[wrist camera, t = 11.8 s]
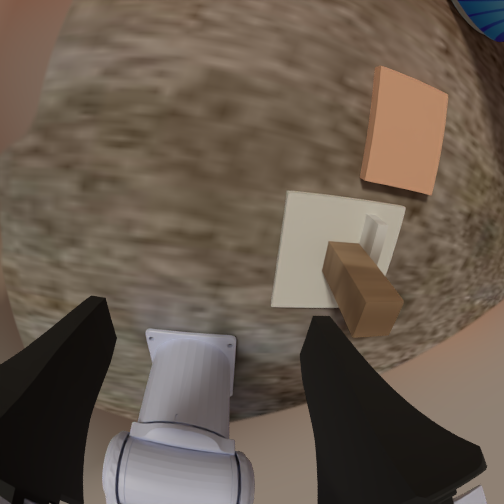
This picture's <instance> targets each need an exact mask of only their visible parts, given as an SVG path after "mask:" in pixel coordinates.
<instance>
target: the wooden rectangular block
mask: <svg viewBox="0 0 504 504" xmlns="http://www.w3.org/2000/svg"><path fill="white" fill-rule="evenodd" d="M387 230H388V225H387V224H386V223H385V222H384V221H383V220H381V219H380V218H379V217H378V216H377V215H373V214H366V217H365V221H364V225H363V229H362V233H361V237H360V241H359V243H347V242H334V241H328V246H327V251H326V255H325V259H324V264H323V268H322V272H323V274H324V276H325V278H326V281H327V283H328V285H329V287H330V289H331V291H332V293H333V296H334V298H335V300H336V302H337V304H338V306H339V309H340V311H341V313H342V315H343V318H344V320H345V322H346V324H347V327H348V329H349V331H350V334H351V336H352V338H355V337H371V336H385V335H389V333H390V331H391V329H392V327H393V325H394V323H395V321H396V319H397V316H398V314H399V312H400V310H401V308H402V305H403V303H404V301H403V299H402V298H401V297H400V295H399V294H398V293H397V291H396V290H395V289H394V287H393V286H392V285H391V283H390V282H389V281H388V279H387V278H386V277H385V275H384V274H383V273H382V272H381V270H380V269H379V268H378V266H377V264H378V261H379V257H380V254H381V251H382V248H383V244H384V241H385V237H386V234H387Z"/></svg>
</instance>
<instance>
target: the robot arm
mask: <svg viewBox="0 0 504 504" xmlns="http://www.w3.org/2000/svg"><path fill="white" fill-rule="evenodd" d="M151 337H153V338H151ZM146 338H147V343H148V347H149V351H150V355H151V359H152V363H153V364H152V368H151V371H150V375H149V379H148V382H147V386H146V390H145V394H144V398H143V402H142V406H141V410H140V414H139V419H138V423H137V422H132V427H131V430H130V432H127V431H121V432H120V433H119V434H117V435H115V436H114V437H113V438H112V439H111V442H110V443H109V446H108V449H107V452H106V455H105V460H104V466H103V476H102V477H103V478H102V479H103V480H102V481H103V489H104V492H105V494H106V504H253V501H254V491H255V483H254V472H253V468H252V464H251V462H250V461H249V460H248V458H247V457H246V456H245V454H244V453H242V452H240V451H235V440H232V439H229V405H230V396H232V395H233V381H234V366H235V352H236V337H235V336H233V335H220V334H205V333H192V332H180V331H170V330H160V329H152V328H149V329H147V330H146ZM116 339H117V337H116V334H115V330H114V327H113V324H112V320H111V317H110V313H109V309H108V305H107V302H106V298H103V297H97V296H90V297H89V298H87V299H86V300H85V301H83V302H82V303H81V304H80V305H78V306H77V307H76V308H75V309H73V310H72V311H71V312H70V313H68V314H67V315H66V316H65V317H64V318H62V319H61V320H60V321H59V322H58V323H56V324H55V325H54V326H53V327H52V328H50V329H49V330H48V331H47V332H45V333H44V334H43V335H41V336H40V337H39V338H38V339H36V340H35V341H34V342H32V343H31V344H30V345H29V346H27V347H26V348H25V349H23V350H22V351H20V352H19V353H18V354H16V355H15V356H13V357H11V358H10V359H8V360H7V361H5V362H4V363H2V364H0V504H49V503H51V504H59V502H60V500H61V501H64V502H66V503H69V504H84V500H83V465H84V453H85V446H86V439H87V433H88V428H89V422H90V418H91V414H92V411H93V408H94V405H95V402H96V400H97V397H98V394H99V391H100V389H101V386H102V383H103V381H104V378H105V376H106V373H107V370H108V368H109V365H110V362H111V359H112V355H113V351H114V347H115V343H116ZM229 344H232V345H229ZM300 361H301V373H302V381H303V386H304V390H305V395H306V400H307V404H308V409H309V413H310V417H311V422H312V427H313V432H314V438H315V447H316V460H317V480H318V504H487V502H486V498H485V495H484V491H483V488H482V485H478V486H476V487H475V488H473V489H471V490H469V491H467V492H465V493H464V494H462V495H460V496H458V497H456V498H453V499H452V496H454V495H456V493H457V491H456V489H457V488H459V487H461V486H462V485H464V484H465V483H467V482H469V481H470V480H472V479H473V478H475V477H476V476H478V475H479V474H481V473H482V472H483V471H485V470H486V468H487V465H486V462H485V459H484V456H483V454H482V451H481V449H480V446H478V445H476V444H473V443H471V442H469V441H466V440H465V439H463V438H460V437H458V436H457V435H455V434H452V433H451V432H450V431H448V430H446V429H444V428H443V427H441V426H439V425H438V424H436V423H435V422H433V421H432V420H430V419H429V418H428V417H426V416H425V415H424V414H422V413H421V412H419V411H418V410H417V409H416V408H414V407H413V406H412V405H411V404H409V403H408V402H407V401H406V400H405V399H404V398H403V397H401V396H400V395H399V394H398V393H397V392H396V391H395V390H394V389H393V388H392V387H391V386H390V385H389V384H388V383H387V382H386V381H385V380H384V379H383V378H382V377H381V376H380V375H379V374H378V373H377V372H376V371H375V370H374V369H373V368H372V367H371V365H370V364H369V363H368V362H367V361H366V360H365V359H364V357H363V356H362V355H361V354H360V353H359V352H358V350H357V349H356V348H355V347H354V346H353V344H352V343H351V342H350V341H349V339H348V338H347V337H346V336H345V334H344V333H343V332H342V331H341V329H340V328H339V327H338V326H337V324H336V323H335V322H334V321H333V320H332V318H331V317H330V316H313V318H312V321H311V324H310V327H309V330H308V333H307V336H306V339H305V341H304V344H303V347H302V350H301V353H300Z"/></svg>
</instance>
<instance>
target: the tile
mask: <svg viewBox="0 0 504 504" xmlns="http://www.w3.org/2000/svg"><path fill="white" fill-rule="evenodd" d="M447 104H448V94H446V93H444V92H442V91H440V90H438V89H436V88H434V87H431V86H429V85H427V84H425V83H423V82H421V81H418V80H416V79H414V78H411V77H409V76H407V75H404V74H402V73H399V72H397V71H394V70H391V69H389V68H386V67H383V66H378V67H375V74H374V85H373V94H372V103H371V111H370V119H369V126H368V133H367V139H366V145H365V151H364V157H363V163H362V168H361V174H360V178H361V179H363V180H365V181H369V182H374V183H379V184H384V185H389V186H394V187H398V188H403V189H407V190H411V191H416V192H420V193H424V194H428V195H432V191H433V187H434V183H435V178H436V174H437V169H438V164H439V159H440V154H441V148H442V142H443V136H444V129H445V122H446V113H447Z"/></svg>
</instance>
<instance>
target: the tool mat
mask: <svg viewBox="0 0 504 504" xmlns="http://www.w3.org/2000/svg"><path fill="white" fill-rule="evenodd" d="M405 209H406V208H405V207H403V206H401V205H395V204H389V203H383V202H376V201H370V200H363V199H356V198H349V197H341V196H333V195H325V194H317V193H308V192H298V191H288V190H287V193H286V201H285V209H284V216H283V223H282V230H281V238H280V245H279V252H278V258H277V265H276V272H275V278H274V285H273V291H272V298H271V307H296V308H339V306H338V304H337V302H336V300H335V298H334V296H333V293H332V291H331V289H330V287H329V285H328V283H327V281H326V278H325V276H324V274H323V272H322V268H323V264H324V259H325V255H326V251H327V246H328V241H334V242H347V243H359V241H360V237H361V233H362V229H363V225H364V221H365V217H366V214H373V215H377V216H378V217H379V218H380V219H381V220H383V221H384V222H385V223H386V224H387V225H388V230H387V234H386V237H385V241H384V244H383V248H382V251H381V254H380V257H379V261H378V264H377V266H378V268H379V269H380V270H381V272H382V273H383V274H384V275H385V276H386V273H387V270H388V267H389V264H390V261H391V258H392V255H393V251H394V248H395V245H396V242H397V238H398V235H399V231H400V228H401V224H402V221H403V217H404V213H405Z"/></svg>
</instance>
